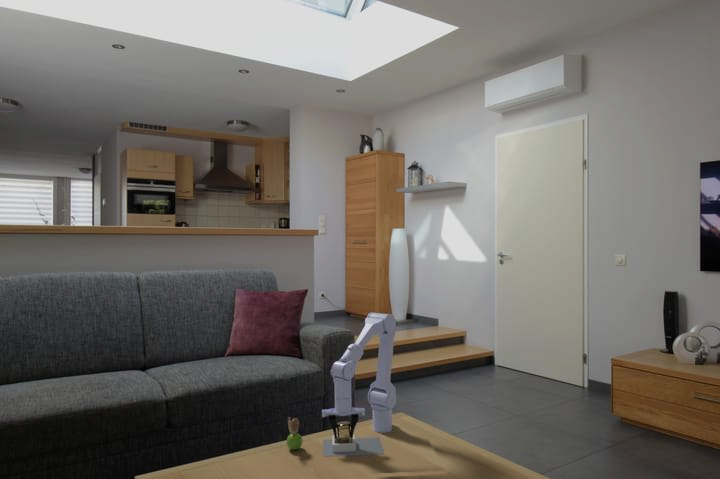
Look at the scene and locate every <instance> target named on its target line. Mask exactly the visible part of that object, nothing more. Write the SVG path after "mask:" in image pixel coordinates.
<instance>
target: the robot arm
mask: <svg viewBox="0 0 720 479" xmlns="http://www.w3.org/2000/svg"><path fill="white" fill-rule="evenodd" d="M396 329H397V319H396V318H395V316H394V315H393V314H391V313H380V312H379V313H378V312H373V311H371V312H369V313H368V314H367V316H366V318H364V327H363V328H362V330H361V332H360V334H359V336H358V337H357V339H356V341H355V342H354V343H351V344H349V345H348V346H347V348H346V350H345V352H344V353H343V355H342V356H341V358H339V360H337V361H335V362H333V364H332V365H331V368H330V369H331V370H330V375H331V377H332V380H333V384H334V407H333V408H332V407H331V408H328V409H327V408H326V409H321V417H322V418H325V417H328V422H329V423H330V426H331V428H332V431H333V436H335V438H337V435H338V433H337V428H336V424H337V417H346V416H350V423H351V427H350V434H351V438H353V435H354V433H355V428H356V426H357V423H358V421H359V419H360V418H359V416H366V414H365V413H366V410H365V408H364V407H353V406H352V405H353V404H352V379H353V378H354V377H355V374H356V369H357V365H358V363H359V361H360V360H361V358H362V357H363V355H364V348H365V347H366V346H367V345H368V343H369V342H370V340H371V339H372V338H373V337H374V335H377V337H378V338H379V343H378V344H379V346H378V354H377V356H378V357H377V366H376V375H375V376H376V378H375V380H374V381H373V382H372V383H371V384H370V387H369V389H368V390H369V391H368V393H367V402H368V403H369V404H370V408H372V430H373V431H374V432H376V433H382V434H383V433H390V432H392V430H393V412H392V411H393V408H394V407H395V406H396V403H397V394H396V392H397V389H396V387H395V385H393V383H392V382H391V375H392V365H393V355H394V345H395V336H396Z"/></svg>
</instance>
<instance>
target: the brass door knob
mask: <svg viewBox="0 0 720 479" xmlns="http://www.w3.org/2000/svg"><path fill="white" fill-rule="evenodd" d="M350 431H351V421H345V420H344V421H339V422H336V433H337V435H338V443H350V442H351V434H350Z"/></svg>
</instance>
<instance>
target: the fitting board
mask: <svg viewBox="0 0 720 479" xmlns="http://www.w3.org/2000/svg"><path fill="white" fill-rule="evenodd" d="M331 437H332V438H331V439H323V440H322V441H323V442H322V450H323V451H322V454H323V455H322V457H324V458H326V457H329V458H330V457H348V456H349V457H350V456H351V457H352V456H373V455H374V456H375V455H385V452H384V449H383V445H382V442H381V438H380V437H357V438H356V436H355V434H353V438H351V442H350V443H338V434H337V438H335V436H334V435H331Z"/></svg>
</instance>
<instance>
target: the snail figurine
mask: <svg viewBox="0 0 720 479" xmlns="http://www.w3.org/2000/svg"><path fill="white" fill-rule="evenodd" d="M291 419H292V420H291ZM287 424H288V430H289V435H288V436H287V438H286V445H287V447H288V448H289V449H290V450H293V451H295V450H298V449H300V448H301V447H302V445H303V442H304V441H303V436H302V435H301V434H300V433H298V431H299V427H300V421H299V419H298V418H297V417H294V418H292V417H287Z"/></svg>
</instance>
